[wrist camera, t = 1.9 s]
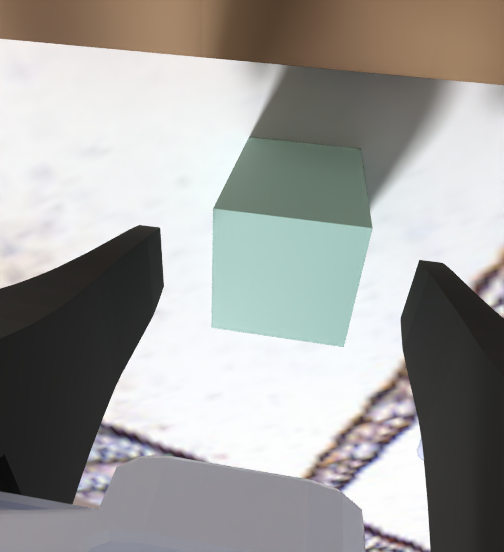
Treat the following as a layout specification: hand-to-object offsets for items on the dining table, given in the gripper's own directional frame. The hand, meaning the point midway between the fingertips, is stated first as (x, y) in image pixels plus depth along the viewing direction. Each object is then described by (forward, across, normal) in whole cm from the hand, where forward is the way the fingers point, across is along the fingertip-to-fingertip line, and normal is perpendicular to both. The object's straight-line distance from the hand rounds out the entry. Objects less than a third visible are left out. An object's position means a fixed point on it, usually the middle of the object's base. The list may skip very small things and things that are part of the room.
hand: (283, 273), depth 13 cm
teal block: (+6, 0, 0) cm, 6 cm away
